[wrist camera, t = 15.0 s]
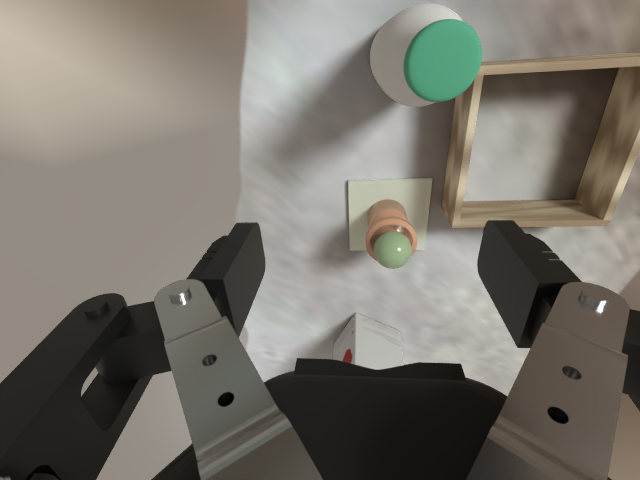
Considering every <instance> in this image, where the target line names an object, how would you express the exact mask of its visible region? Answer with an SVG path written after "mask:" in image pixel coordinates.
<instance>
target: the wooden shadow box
mask: <svg viewBox="0 0 640 480" xmlns="http://www.w3.org/2000/svg"><path fill="white" fill-rule="evenodd" d="M616 67H619V70H618V73H617V76H616V79H615V82H614V84H613V87H612V90H611V93H610V96H609V99H608V102H607V105H606V108H605V111H604V114H603V117H602V120H601V123H600V126H599V129H598V131H597V134H596V137H595V140H594V143H593V146H592V149H591V152H590V155H589V158H588V161H587V164H586V167H585V170H584V173H583V176H582V178H581V181H580V184H579V187H578V190H577V193H576V196H575V199H574V200H522V201H466V202H463V199H464V193H465V186H466V180H467V174H468V168H469V162H470V156H471V150H472V144H473V138H474V131H475V125H476V119H477V113H478V107H479V101H480V95H481V89H482V83H483V77H484V75H494V74H512V73H529V72H546V71H564V70H581V69H599V68H616ZM639 150H640V53H623V54H606V55H590V56H574V57H557V58H541V59H525V60H509V61H492V62H481V66H480V69H479V72H478V74H477V76H476V78H475V79H474V81H473V82H472V84H471V85H470V86H469V87H468V88H467V89H466V90H465V91H464V92H463V93H462V94H460V95H459V96H457V97H456V98H455V106H454V113H453V121H452V129H451V136H450V144H449V152H448V159H447V167H446V175H445V182H444V190H443V198H442V206H441V208H442V210H443V212H444V213H445V215H446V217H447V219H448V221H449V223H450V225H451V227H452V228H466V227H485V224H486V222H487V221H488V220H513V221H515V223H516V224H517V225H518V226H519V227H569V226H609V223H610V221H611V218H612V216H613V213H614V211H615V209H616V206H617V204H618V201H619V199H620V197H621V194H622V192H623V189H624V187H625V184H626V182H627V180H628V177H629V175H630V172H631V170H632V167H633V165H634V163H635V160H636V158H637V155H638V153H639Z"/></svg>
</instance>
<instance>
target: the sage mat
mask: <svg viewBox="0 0 640 480" xmlns="http://www.w3.org/2000/svg"><path fill="white" fill-rule="evenodd" d="M432 180H433V179H432V178H402V179H363V180H348V194H349V245H350V251H367V249H366V233H367V231H368V221H367V215H368V212H369V210H370V208H371V207H372V206H373V205H374V204H375V203H376V202H378V201H381V200H385V199H391V200H395V201H397V202H399V203H400V204H401V205H402V206H403V207H404V209H405V211H406V214H407V218H408V221H409V223H410V224H411V225H412V226H413V228H414V230H415V232H416V236H417V247H416V249H415V251H425V243H426V234H427V225H428V216H429V207H430V198H431V189H432Z"/></svg>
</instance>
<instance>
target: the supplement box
mask: <svg viewBox="0 0 640 480" xmlns="http://www.w3.org/2000/svg"><path fill="white" fill-rule="evenodd" d="M332 360H339V361H343V362H347V363H351V364H355V365H359V366H363V367H367V368H371V369H375V370H381V369H387V368H392V367H397V366H403V365H404V358H403V351H402V344H401V337H400V331H398V330H395V329H393V328H391V327H388V326H386V325H383V324H381V323H379V322H376V321H374V320H372V319H369V318H367V317H364V316H362V315H360V314H357V313H355V314H354V316H353V317H352V318H351V320H350V321H349V323H348V324H347V325H346V327H345V328H344V330H343V331H342V332H341V334H340V335H339V337H338V338H337V339H336V341H335V342H334V346H333V358H332Z"/></svg>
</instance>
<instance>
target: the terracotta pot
mask: <svg viewBox="0 0 640 480" xmlns="http://www.w3.org/2000/svg"><path fill="white" fill-rule="evenodd" d="M367 221H368V231H367V233H366V249H367V251H368V253H369V254H370V256H371V257H372V258H373V259H375V260H376V261H378V262H379V263H380V264H381V265H382V266H384V267H386V268H392V269H394V268H399V267H401V266H403V265H405V264H406V263H407V262H408V260H409V259H410V257H411V255H412V254H413V253H414V251H415V249H416V247H417V236H416V232H415V230H414V228H413V226H412V225H411V224H410V223H409V221H408V218H407V214H406V211H405V209H404V207H403V206H402V205H401V204H400V203H399V202H397V201H395V200H391V199H385V200H381V201H378V202H376V203H375V204H374V205H373V206H372V207H371V208H370V210H369V212H368V215H367Z"/></svg>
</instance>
